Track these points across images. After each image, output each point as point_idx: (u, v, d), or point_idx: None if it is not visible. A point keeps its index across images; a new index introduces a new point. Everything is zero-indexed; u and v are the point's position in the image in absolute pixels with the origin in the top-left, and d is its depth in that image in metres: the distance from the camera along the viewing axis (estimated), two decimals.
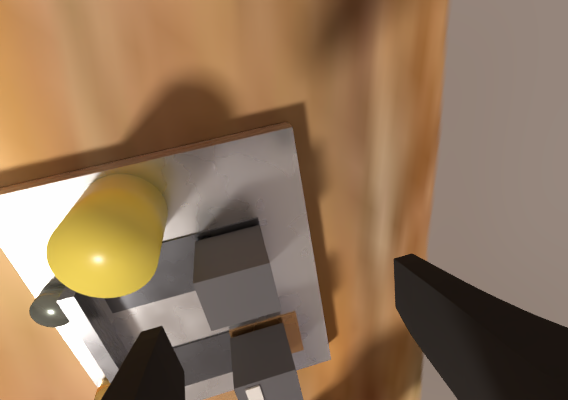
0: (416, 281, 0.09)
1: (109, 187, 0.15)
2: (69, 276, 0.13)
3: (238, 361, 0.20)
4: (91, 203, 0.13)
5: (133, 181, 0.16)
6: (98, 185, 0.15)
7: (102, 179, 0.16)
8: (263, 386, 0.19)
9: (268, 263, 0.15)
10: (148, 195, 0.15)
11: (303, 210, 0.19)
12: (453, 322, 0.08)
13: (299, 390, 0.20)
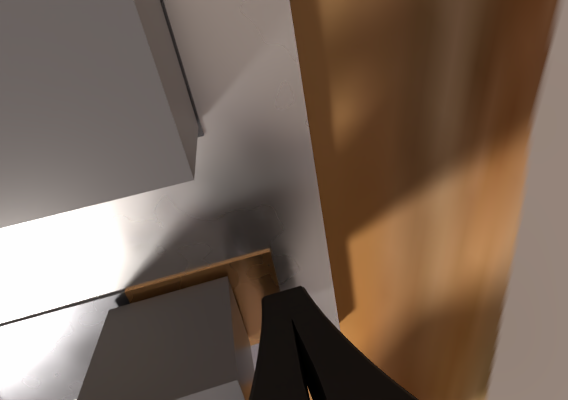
0: None
1: None
2: None
3: (106, 359, 0.08)
4: None
5: None
6: None
7: None
8: None
9: None
10: None
11: None
12: (310, 367, 0.08)
13: None
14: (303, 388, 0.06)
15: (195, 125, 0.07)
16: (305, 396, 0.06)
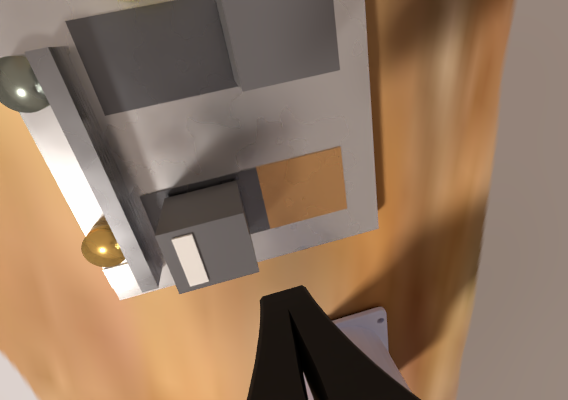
0: (291, 318, 0.09)
1: None
2: None
3: (169, 214, 0.15)
4: None
5: None
6: None
7: None
8: (198, 236, 0.14)
9: None
10: None
11: None
12: (311, 367, 0.08)
13: (251, 250, 0.14)
14: (301, 389, 0.06)
15: None
16: (303, 397, 0.06)
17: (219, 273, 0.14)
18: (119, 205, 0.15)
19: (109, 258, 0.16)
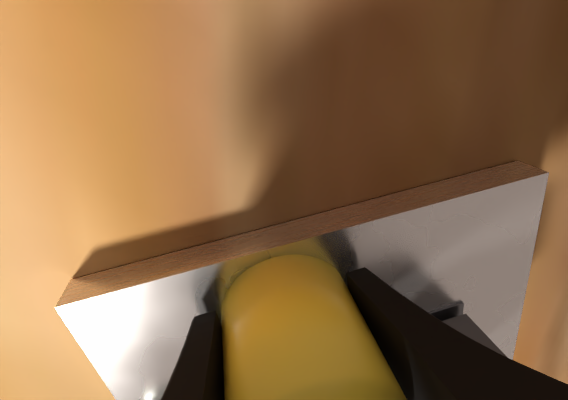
0: (363, 297, 0.09)
1: (290, 294, 0.08)
2: None
3: None
4: (290, 347, 0.07)
5: (312, 270, 0.09)
6: (265, 288, 0.09)
7: (260, 271, 0.09)
8: None
9: None
10: (343, 293, 0.09)
11: (522, 288, 0.13)
12: (393, 341, 0.08)
13: None
14: None
15: None
16: None
17: None
18: None
19: None
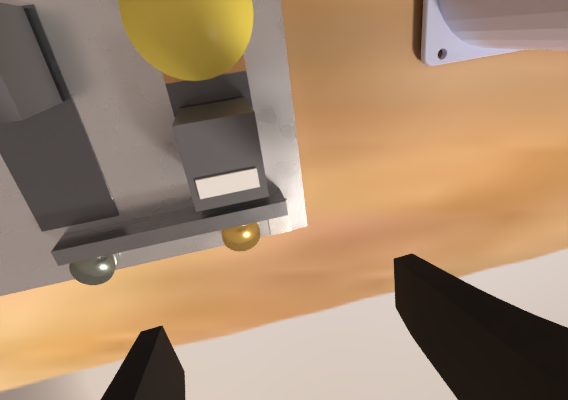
0: (416, 281, 0.09)
1: None
2: (147, 41, 0.11)
3: None
4: None
5: None
6: None
7: None
8: (199, 174, 0.13)
9: None
10: None
11: None
12: (453, 322, 0.08)
13: (223, 119, 0.12)
14: None
15: None
16: None
17: (249, 156, 0.13)
18: (190, 222, 0.16)
19: (251, 233, 0.18)
